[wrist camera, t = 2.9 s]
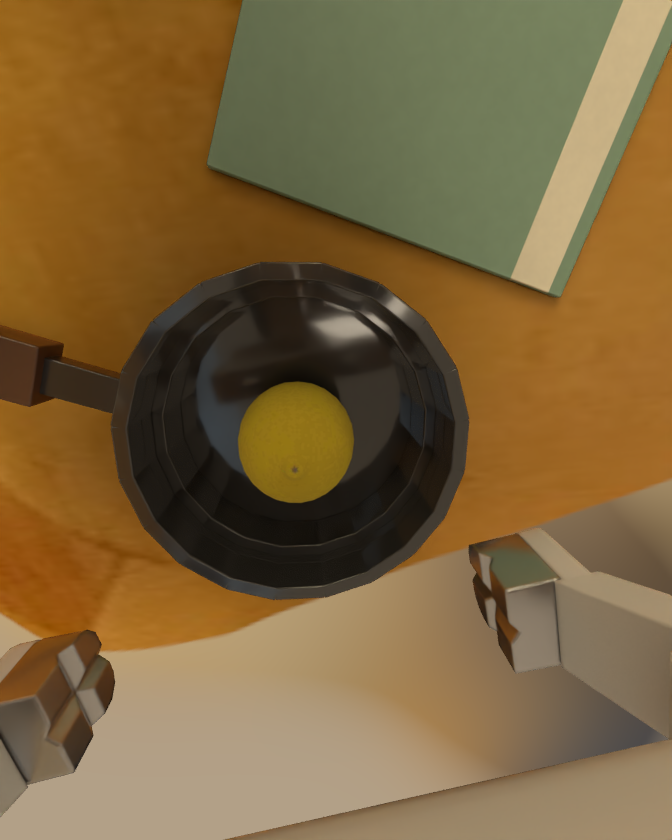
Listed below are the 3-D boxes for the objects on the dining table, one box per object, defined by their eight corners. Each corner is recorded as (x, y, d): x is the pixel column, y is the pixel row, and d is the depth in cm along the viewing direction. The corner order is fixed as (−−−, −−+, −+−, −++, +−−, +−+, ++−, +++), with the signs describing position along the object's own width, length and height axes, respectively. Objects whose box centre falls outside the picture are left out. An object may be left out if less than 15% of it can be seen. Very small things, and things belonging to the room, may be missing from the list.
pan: (136, 499, 24) (83, 557, 19) (196, 232, 21) (153, 202, 15) (378, 559, 27) (398, 628, 21) (469, 328, 23) (524, 333, 17)
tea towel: (208, 168, 20) (205, 164, 20) (286, -185, 17) (285, -201, 16) (555, 298, 23) (561, 297, 22) (678, 16, 20) (688, 8, 19)
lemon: (353, 451, 24) (375, 516, 16) (264, 471, 24) (243, 546, 16) (335, 361, 23) (349, 387, 15) (239, 382, 23) (204, 418, 15)
